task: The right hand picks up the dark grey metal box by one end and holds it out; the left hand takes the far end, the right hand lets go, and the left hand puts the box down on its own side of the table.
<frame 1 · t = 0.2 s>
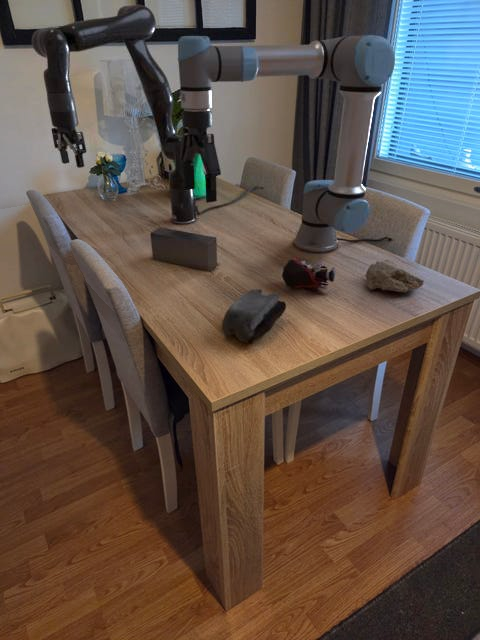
left hand: (73, 165, 140), 30 cm above the table, tool pointing down, fingers open, 8 cm apart
right hand: (200, 195, 121), 27 cm above the table, tool pointing down, fingers open, 13 cm apart
artifact: (387, 284, 136), on the table
toy 2: (190, 195, 217), on the table
box: (184, 261, 150), on the table
toy: (306, 289, 133), on the table
dark grey pouch: (255, 328, 115), on the table
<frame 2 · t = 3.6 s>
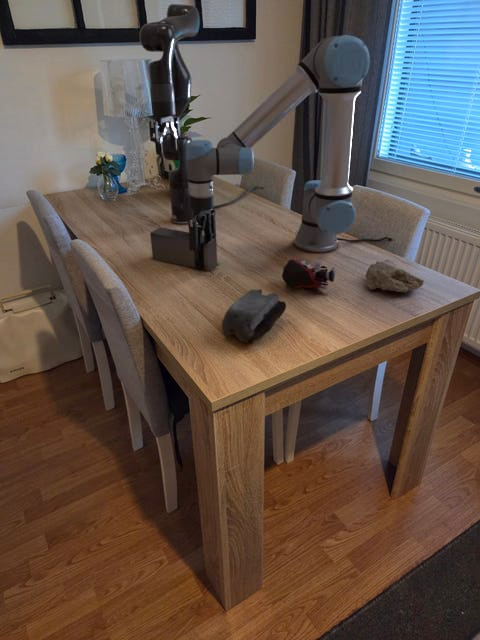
left hand: (167, 152, 150), 32 cm above the table, tool pointing down, fingers open, 8 cm apart
right hand: (204, 264, 147), 0 cm above the table, tool pointing down, fingers closed on box, 6 cm apart
box: (184, 261, 150), on the table, touching right hand
everything else where it was.
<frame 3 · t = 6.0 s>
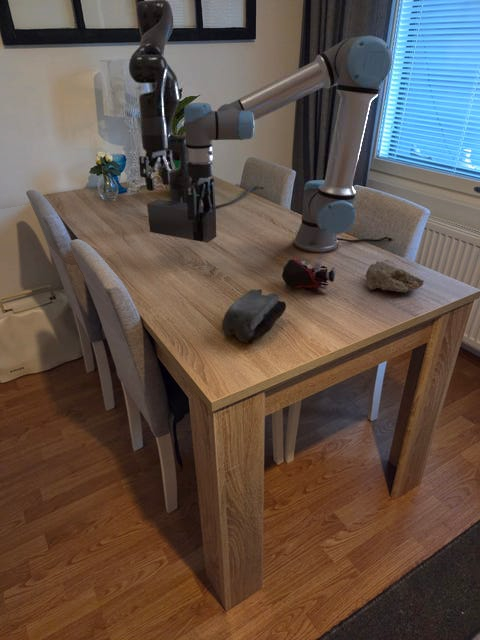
left hand: (158, 187, 140), 24 cm above the table, tool pointing down, fingers open, 8 cm apart
right hand: (203, 236, 142), 10 cm above the table, tool pointing down, fingers closed on box, 6 cm apart
box: (182, 234, 145), point 10 cm above the table, touching right hand
everything else where it was.
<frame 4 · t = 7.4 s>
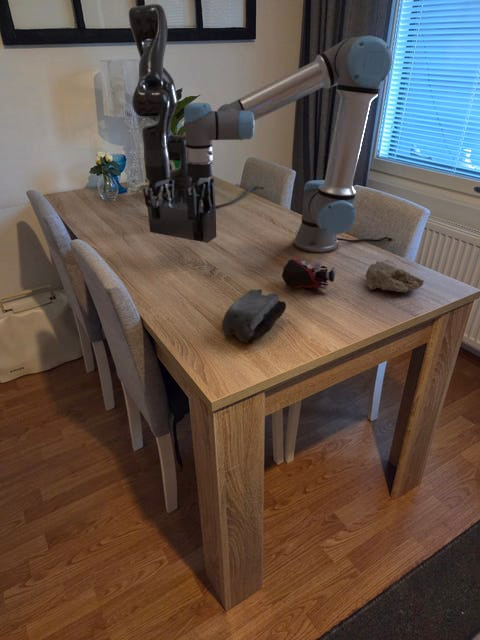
left hand: (161, 215, 145), 15 cm above the table, tool pointing down, fingers closed on box, 6 cm apart
right hand: (203, 236, 142), 10 cm above the table, tool pointing down, fingers closed on box, 6 cm apart
box: (182, 234, 145), point 10 cm above the table, touching left hand, right hand
everything else where it was.
when the right hand's fingers open (10 cm above the table, at t = 8.5 s): box stays where it is, held by the left hand.
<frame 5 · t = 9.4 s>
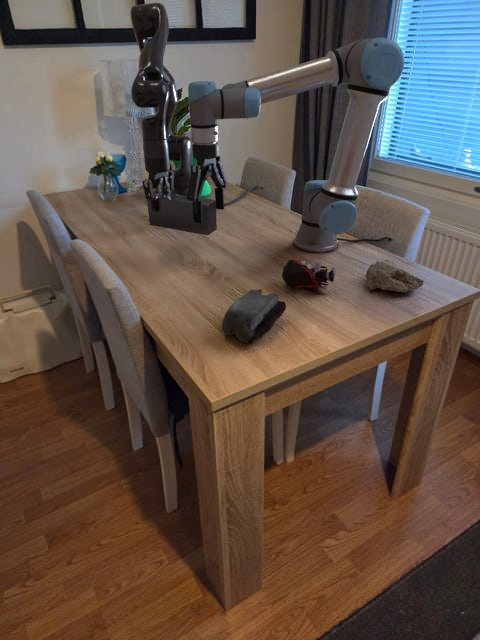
left hand: (161, 208, 144), 17 cm above the table, tool pointing down, fingers closed on box, 6 cm apart
right hand: (209, 215, 137), 17 cm above the table, tool pointing down, fingers open, 13 cm apart
box: (182, 227, 144), point 12 cm above the table, touching left hand
everything else where it was.
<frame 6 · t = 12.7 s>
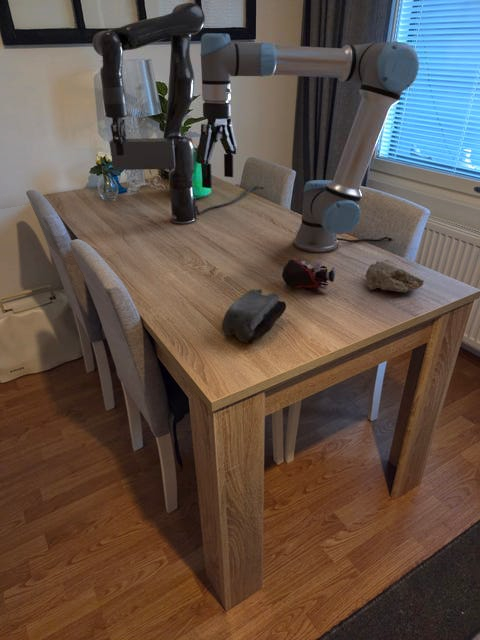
left hand: (121, 153, 159), 29 cm above the table, tool pointing down, fingers closed on box, 6 cm apart
right hand: (218, 182, 130), 28 cm above the table, tool pointing down, fingers open, 13 cm apart
box: (145, 167, 162), point 24 cm above the table, touching left hand
everything else where it was.
when the left hand's fingers open (6 cm above the table, at t = 17.8 s): box drops 1 cm, on the table.
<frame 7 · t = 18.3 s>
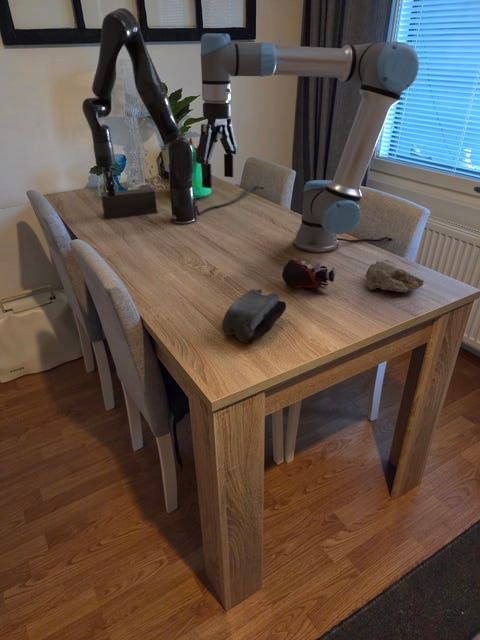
left hand: (110, 193, 186), 9 cm above the table, tool pointing down, fingers open, 8 cm apart
right hand: (218, 182, 130), 28 cm above the table, tool pointing down, fingers open, 13 cm apart
box: (130, 214, 192), on the table
everything else where it was.
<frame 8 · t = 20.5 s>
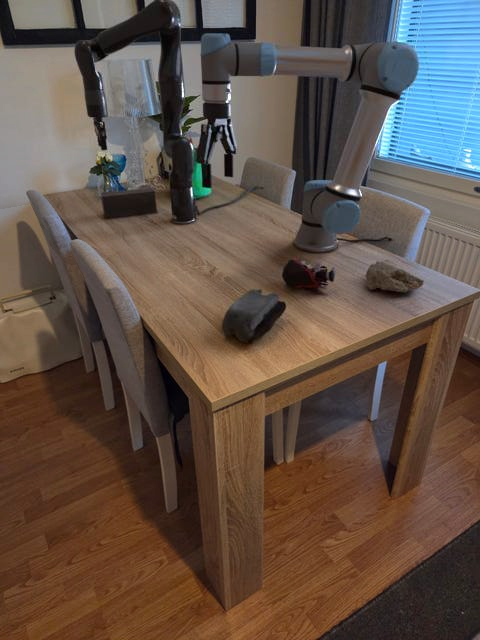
left hand: (102, 148, 176), 28 cm above the table, tool pointing down, fingers open, 8 cm apart
right hand: (218, 182, 130), 28 cm above the table, tool pointing down, fingers open, 13 cm apart
nothing on the table moved.
at the end: box inside the target area (7.5 cm from its centre), on the table; the left hand is holding nothing; the right hand is holding nothing; box at rest at the end (0.0 cm/s) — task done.
